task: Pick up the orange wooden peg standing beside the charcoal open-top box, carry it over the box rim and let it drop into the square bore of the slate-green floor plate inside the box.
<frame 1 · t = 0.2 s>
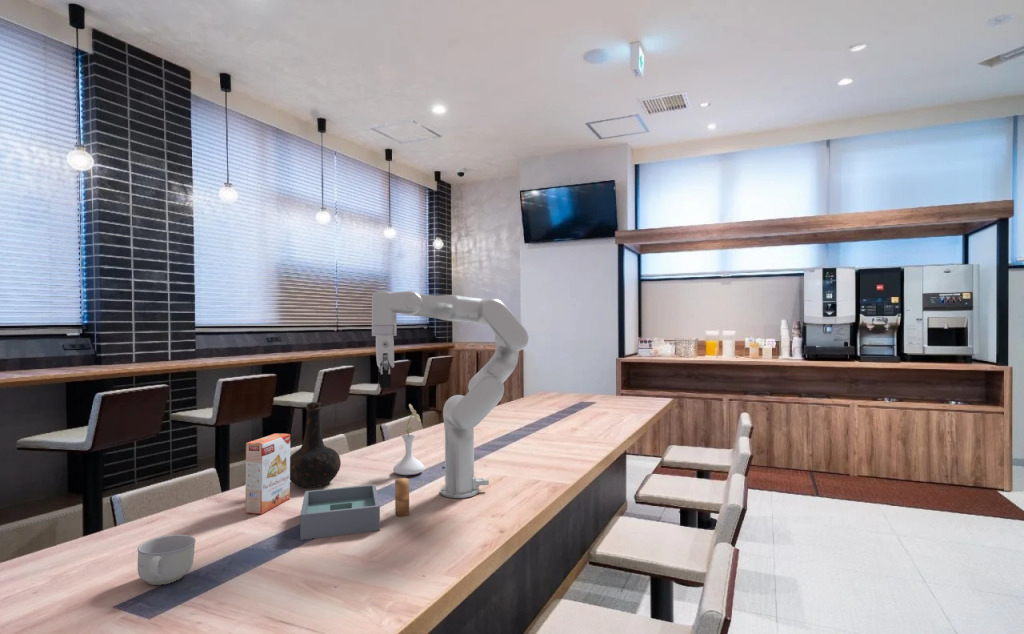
hand: (384, 385, 169), 36 cm above the table, tool pointing down, fingers open, 9 cm apart
bore box: (341, 521, 152), on the table
dark brown vase: (313, 484, 186), on the table
cracker box: (269, 506, 165), on the table
teacup: (163, 582, 118), on the table
flower in vase: (409, 473, 199), on the table
peg: (402, 514, 157), on the table
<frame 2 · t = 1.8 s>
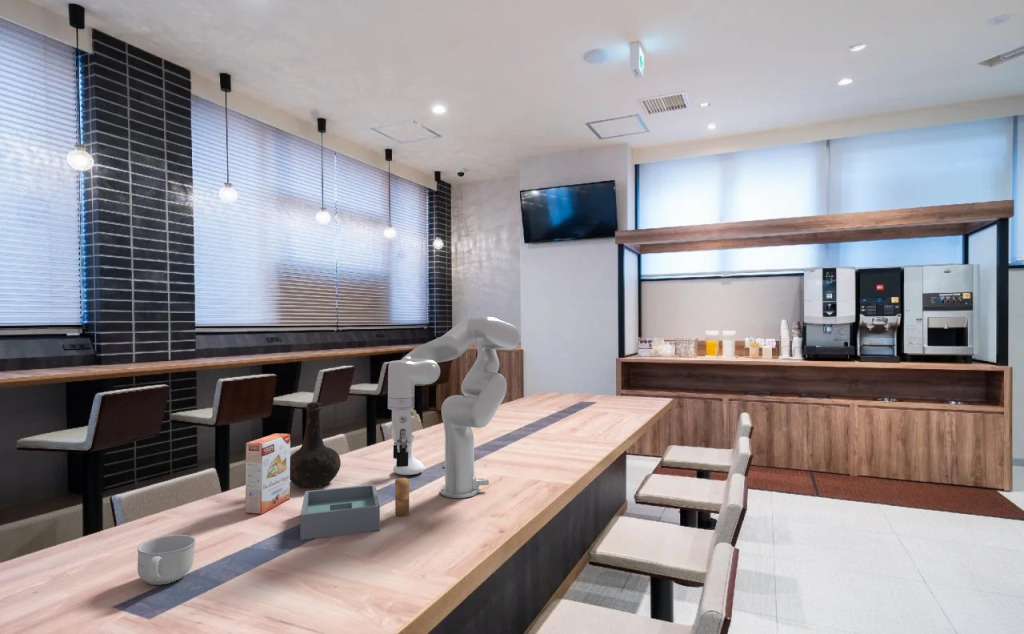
hand: (400, 462, 157), 15 cm above the table, tool pointing down, fingers open, 9 cm apart
nothing on the table moved.
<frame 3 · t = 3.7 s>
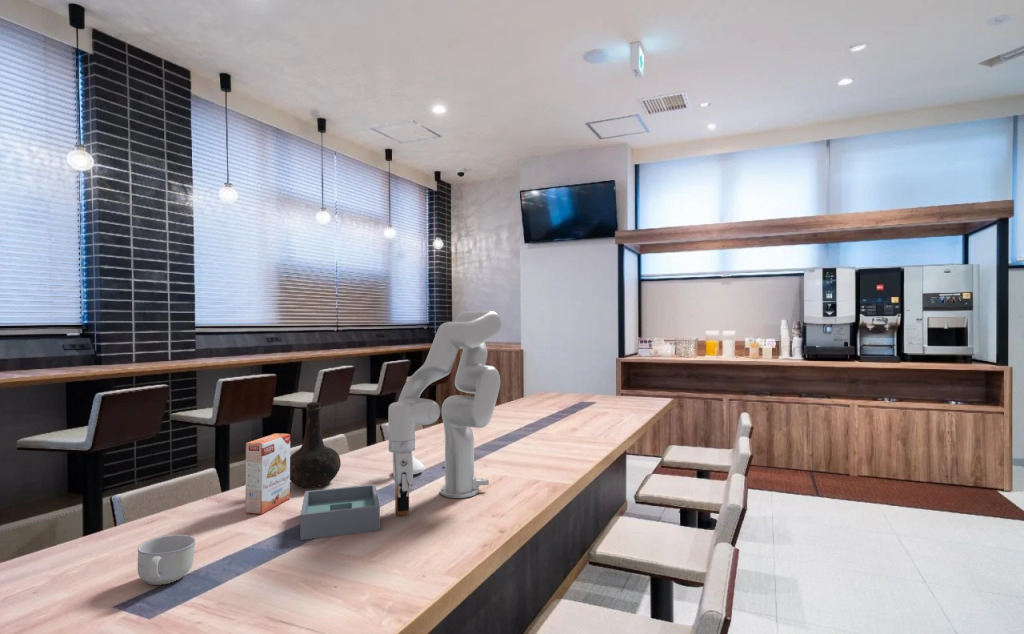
hand: (402, 507, 157), 2 cm above the table, tool pointing down, fingers closed on peg, 4 cm apart
peg: (402, 514, 157), on the table, touching gripper
everything else where it was.
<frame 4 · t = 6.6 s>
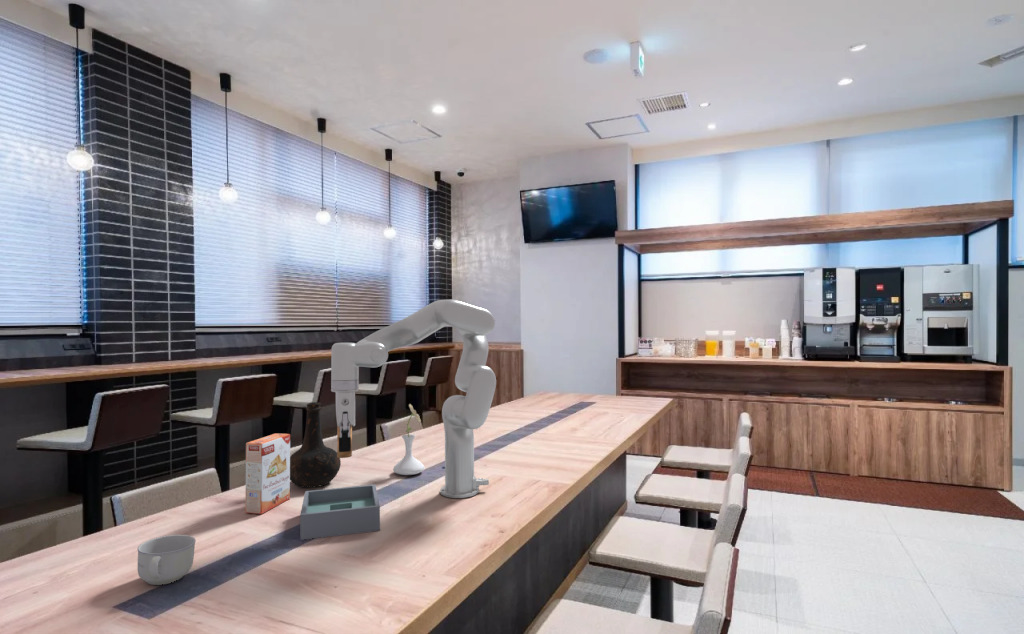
hand: (344, 448, 155), 20 cm above the table, tool pointing down, fingers closed on peg, 4 cm apart
peg: (344, 456, 155), point 18 cm above the table, touching gripper
everything else where it was.
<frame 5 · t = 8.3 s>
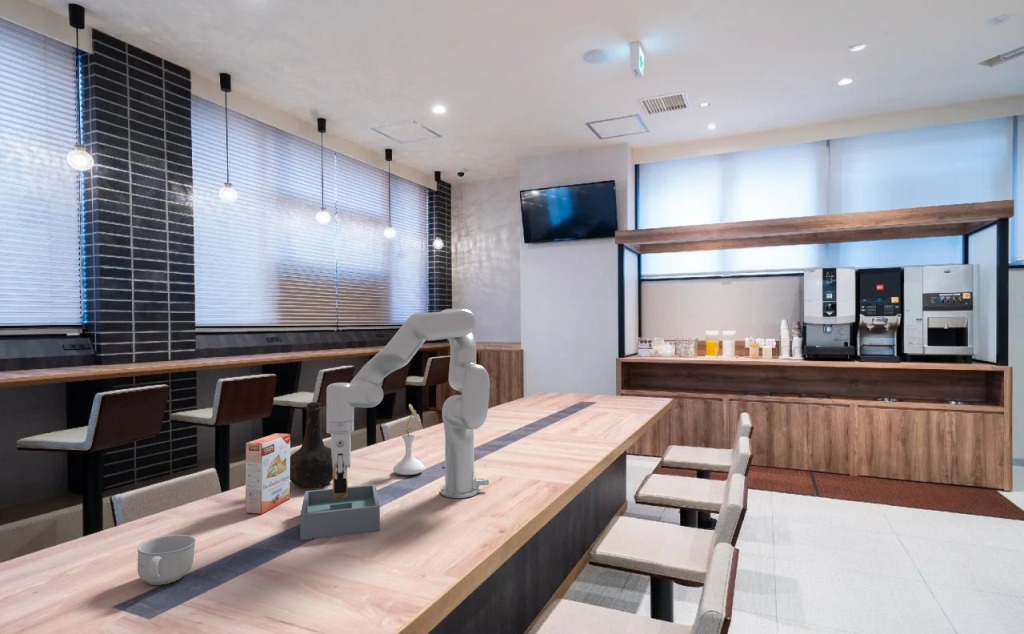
hand: (340, 489, 155), 8 cm above the table, tool pointing down, fingers closed on peg, 4 cm apart
peg: (340, 496, 155), point 6 cm above the table, touching gripper
everything else where it was.
when the fingers open (4 cm above the table, at t = 9.8 s): peg drops 2 cm, resting in bore box.
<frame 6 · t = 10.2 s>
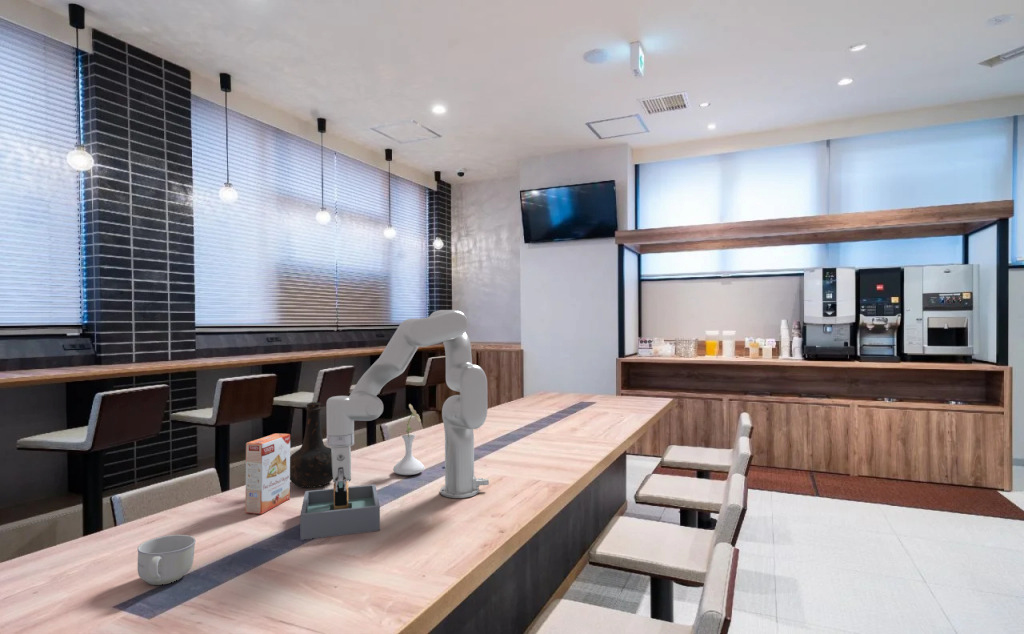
hand: (340, 499, 155), 5 cm above the table, tool pointing down, fingers open, 8 cm apart
peg: (341, 517, 155), resting in bore box
everything else where it was.
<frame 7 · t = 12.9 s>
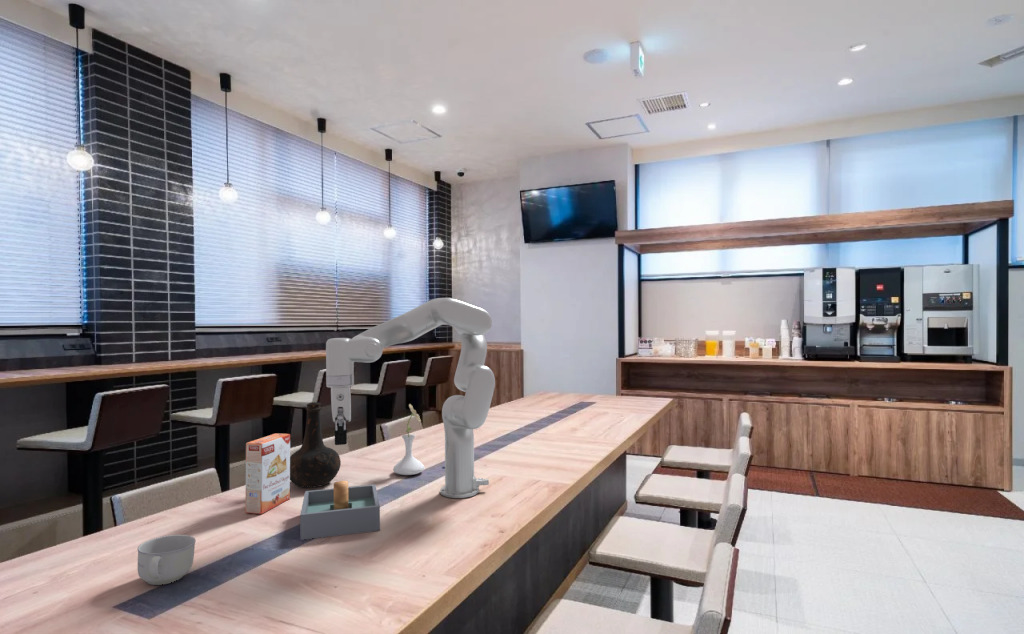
hand: (340, 440, 155), 22 cm above the table, tool pointing down, fingers open, 9 cm apart
nothing on the table moved.
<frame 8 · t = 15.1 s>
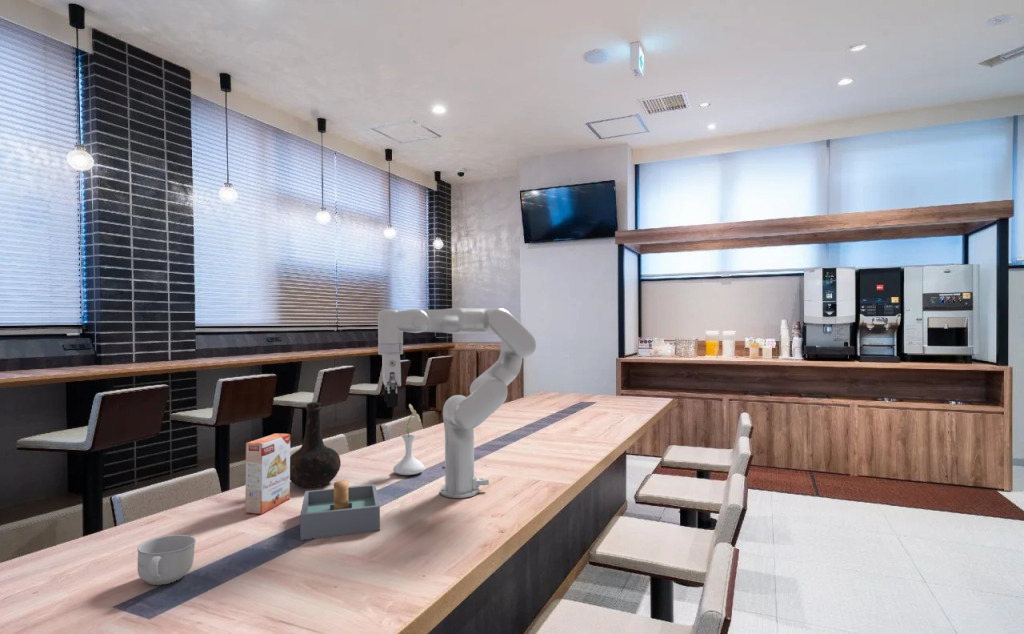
hand: (391, 404, 168), 30 cm above the table, tool pointing down, fingers open, 9 cm apart
nothing on the table moved.
at the end: peg 0.0 cm from the target spot on the bore box, point 0.0 cm above the bore box's base; peg tilted 0°; the gripper is holding nothing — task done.
